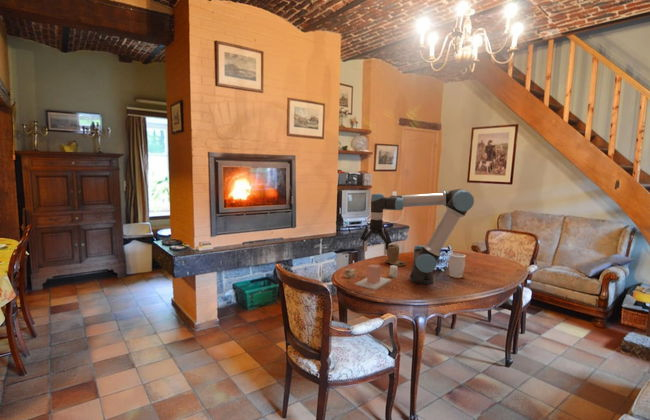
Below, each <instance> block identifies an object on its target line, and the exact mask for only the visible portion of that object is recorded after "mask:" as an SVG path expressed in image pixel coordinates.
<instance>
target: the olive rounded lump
mask: <svg viewBox="0 0 650 420" xmlns="http://www.w3.org/2000/svg"><path fill="white" fill-rule="evenodd" d="M343 276H344V278H347V279H354V278H355V277H356V269H355V268H345V269H344V275H343Z"/></svg>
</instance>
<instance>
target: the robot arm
mask: <svg viewBox="0 0 650 420" xmlns="http://www.w3.org/2000/svg"><path fill="white" fill-rule="evenodd" d="M474 204H475V198H474V196H473V194H472V193H471V192H470V191H469V190H465V189H462V188H457V189H453V190H444V191H442V192H434V193H420V194H419V193H418V194H416V193H415V194H404V195H403V194H402V195H396V194H395V195H393V194H392V195H390V196H388V197H386V196H385V195H384V194H383V193H372V194H371V196H370V220H369V224H370V225H365V228H364V230H363V232H362V235H361V236H360V240H362V241H363V242H362V245H363V248H364V249H363V252H367V251H368V240H369V238H370V236H371V235H378V236H379V237H380V238H381V239H382V241H383V242H384V243H383V244H384V245H383V255H384V256H385V255H386V256H387V249H388V247H389V245H390V244H393V243H392V242H393V241H392V239H391V237H390V234H389V231H388V227H383V221H384V220H383V217H384V210H385V211H386V210H387V211H388V210H389V211H402V210H404V208H408V207H424V206H425V207H429V206H444V207H445V208H446V211H445V213H444V214H443V216H442V218H441V219H440V221H439V223H438V225H437V226H436V228H435V230H434V232H433V233H432V235H431V237H430V238H429V240H428V242H427V243H426V244H423V245H418V244H417V245H414V248H413V262H412V263H413V266H412V270H411V272H410V275H409V281H410V282H412V283H416V284H419V285H430V284H433V283H434V280H435V278H434V273H433V271H434V270H435V269H436V268H437V262H438V261H439V259H440V257H441V250H442V249H443V247H444V246H445V244H446V242H447V240H448V238H449V237H450V235H451V233H452V232H453V231H454V229H455V227H456V225H457V223H458V222H459V220H460V218H464V217H465V216H466V214H467V213H468V211H469V210H471V209H472V208H473V207H474ZM369 230H370V231H369ZM368 231H369V232H368Z"/></svg>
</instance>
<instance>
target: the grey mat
mask: <svg viewBox="0 0 650 420" xmlns="http://www.w3.org/2000/svg"><path fill="white" fill-rule="evenodd" d="M391 281H392V279H391V278H386V277H383V276H380V282H378V283H376V284H375V283H370V282H367V277H365V278H363V279H362V280H358V281H357V282H355V283H354V286H357V287H362V288H365V289H369V290H373V291H377V290H378V289H380V288H381V287H383V286H385V285H388V283H390V282H391Z"/></svg>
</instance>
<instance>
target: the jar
mask: <svg viewBox="0 0 650 420" xmlns="http://www.w3.org/2000/svg"><path fill="white" fill-rule="evenodd" d="M466 256H467V255H466V254H463V253H458V252H457V253H456V252H452V253H451V252H450V253H449V258H448V271H449V275H448V276H450V277H452V278H456V279H457V278H458V279H460V278H463V277H464V276H463V274H464V271H465V267H466Z"/></svg>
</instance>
